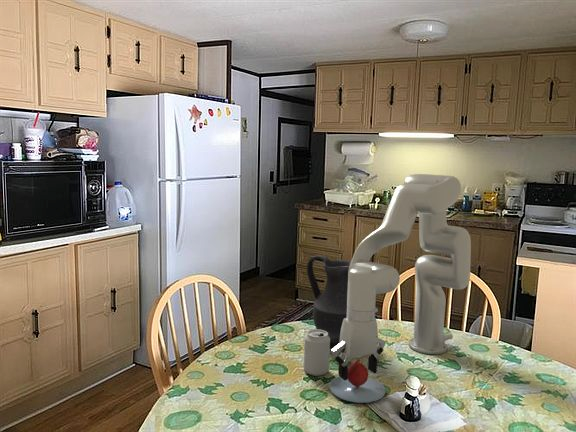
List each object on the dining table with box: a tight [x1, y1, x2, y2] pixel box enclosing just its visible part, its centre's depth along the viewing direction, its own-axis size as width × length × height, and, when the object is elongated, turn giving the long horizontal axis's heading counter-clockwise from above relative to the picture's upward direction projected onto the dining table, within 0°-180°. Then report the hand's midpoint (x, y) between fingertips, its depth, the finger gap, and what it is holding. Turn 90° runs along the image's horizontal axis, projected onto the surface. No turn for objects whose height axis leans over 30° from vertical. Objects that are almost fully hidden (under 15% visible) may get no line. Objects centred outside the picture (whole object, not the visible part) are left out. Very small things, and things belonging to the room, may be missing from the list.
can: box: [303, 328, 331, 377], centre depth 141 cm, size 8×8×12 cm
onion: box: [347, 358, 369, 387], centre depth 130 cm, size 6×6×8 cm
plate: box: [329, 376, 386, 404], centre depth 131 cm, size 15×15×1 cm
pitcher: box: [306, 254, 351, 350], centre depth 162 cm, size 17×21×30 cm
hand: (357, 374), depth 130 cm, fingers open, 9 cm apart
